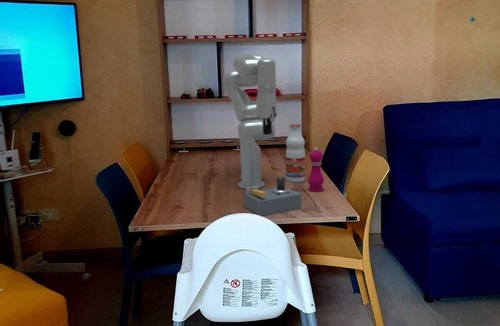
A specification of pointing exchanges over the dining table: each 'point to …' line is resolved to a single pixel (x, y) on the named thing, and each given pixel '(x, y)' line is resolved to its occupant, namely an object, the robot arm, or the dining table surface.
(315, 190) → the pepper mill
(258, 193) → the lever
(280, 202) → the block
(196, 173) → the dining table surface
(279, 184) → the pin
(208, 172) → the dining table surface
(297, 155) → the fruit juice
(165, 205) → the dining table surface
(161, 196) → the dining table surface
